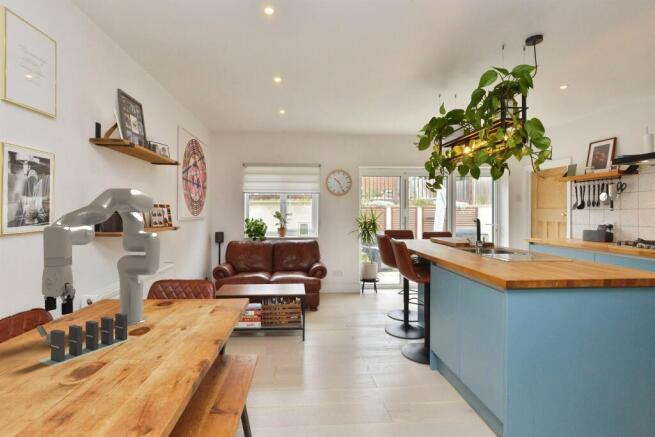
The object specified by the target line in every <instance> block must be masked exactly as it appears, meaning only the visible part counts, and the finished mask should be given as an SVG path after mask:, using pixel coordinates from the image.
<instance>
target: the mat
mask: <svg viewBox="0 0 655 437" xmlns="http://www.w3.org/2000/svg"><path fill="white" fill-rule="evenodd" d="M131 340H132V338H131V337H130V338H129V337H127V340H124V341H122V340H118V339H115V335H113V344H112V345H105V344H101V339H100V340H99V345H98V350H95V351H93V350H89V349H86V344H85V345H82V355H80V356H74V355H70V354H69V350H67V351H66V350H65V361H63V362H60V363H59V362H56V361H52V360H51V356H48V357H45V358H42V359H39V360H37V362H39V363H43V364H46V365H49V366H51V367H57V366H59V365H62V364H65V363H67V362H71V361H74V360H76V359H79V358H82V357H85V356H87V355H91V354H94V353H97V352H100V351H103V350H105V349H108V348H111V347H114V346H116V345H120V344H123V343H126V342H128V341H131Z"/></svg>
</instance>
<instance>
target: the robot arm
mask: <svg viewBox="0 0 655 437" xmlns="http://www.w3.org/2000/svg"><path fill="white" fill-rule="evenodd" d="M154 206H155V202H154V199H153V198H152V196H151V195H149V194H148V193H145V192H142V191H141V190H137V189H135V188H129V187H128V188H126V187H125V188H123V187H122V188H120V187H115V188H114V187H113V188H112V187H111V188H108V189H105V190H104V191H102V192H101V193H100V194H99V195H98V196H97V197H96V198H95V199H93V200H92V201H91V202H90V203H88V205H86V206H82V207H80V208H77V209H75V210H72V211H71V212H68V213H66V214H64V215H62V216H61V217H59V218H58V219H57V220H55V221H54V222H53V223H52V224H51V225H48V226H45V227H44V228H43V231H42V232H43V233H42V235H43V236H42V237H43V239H42V240H43V243H42V246H43V249H42V250H43V270H42V279H41V280H42V281H41V294H42V295H44V296H43V299H44V311H45V312H50V311H55V310H57V308H58V306H57V298H60V299H61V304H60V305H61V307H60V308H61V309H60V312H61V313H60V314H61V316H66V315H70V314H73V313H74V301H75V300H74V299H75V297H76V296H75V295H76V293H77V292H76V291H77V290H76V289H75V288H74V276H73V269H72V266H73V246H84V245H85V246H86V245H88V244H90V243H91V242H92V241H94V240H95V236H96V233H95V229H94V228H93V227H92V226H93V225H98V224H101V223H104V222H106V221H108V220H109V219H110V218H111V217H112V215H113V214H114V213H115V212H117V213H118V214H119V215H120V217H121V220H122V224H123V225H122V227H123V228H122V229H123V230H122V249H123V250H124V251H126V252H130V253H145V254H126V255H123V256H121V257H120V258H119V259H118V261H117V263H116V268H117V269H116V270H117V273H118V278H119V280H118V281H119V313H123V314H127V327H128V326H134V325H135V326H136V325H139V324H143V323H144V322H147V320H148V318H147V317H146V316H144V283H143V279H142V278H141V277H140V276H153V275H156V274H157V273H158V271H159V268H160V259H161V258H160V257H161V254H160V253H161V239H160V236H159V235H158V234H157V232H153V231H145V221H144V219H143V217H142V216H141V214H140V213H142V214H145V213H150V212H152V210H153V208H154Z"/></svg>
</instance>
